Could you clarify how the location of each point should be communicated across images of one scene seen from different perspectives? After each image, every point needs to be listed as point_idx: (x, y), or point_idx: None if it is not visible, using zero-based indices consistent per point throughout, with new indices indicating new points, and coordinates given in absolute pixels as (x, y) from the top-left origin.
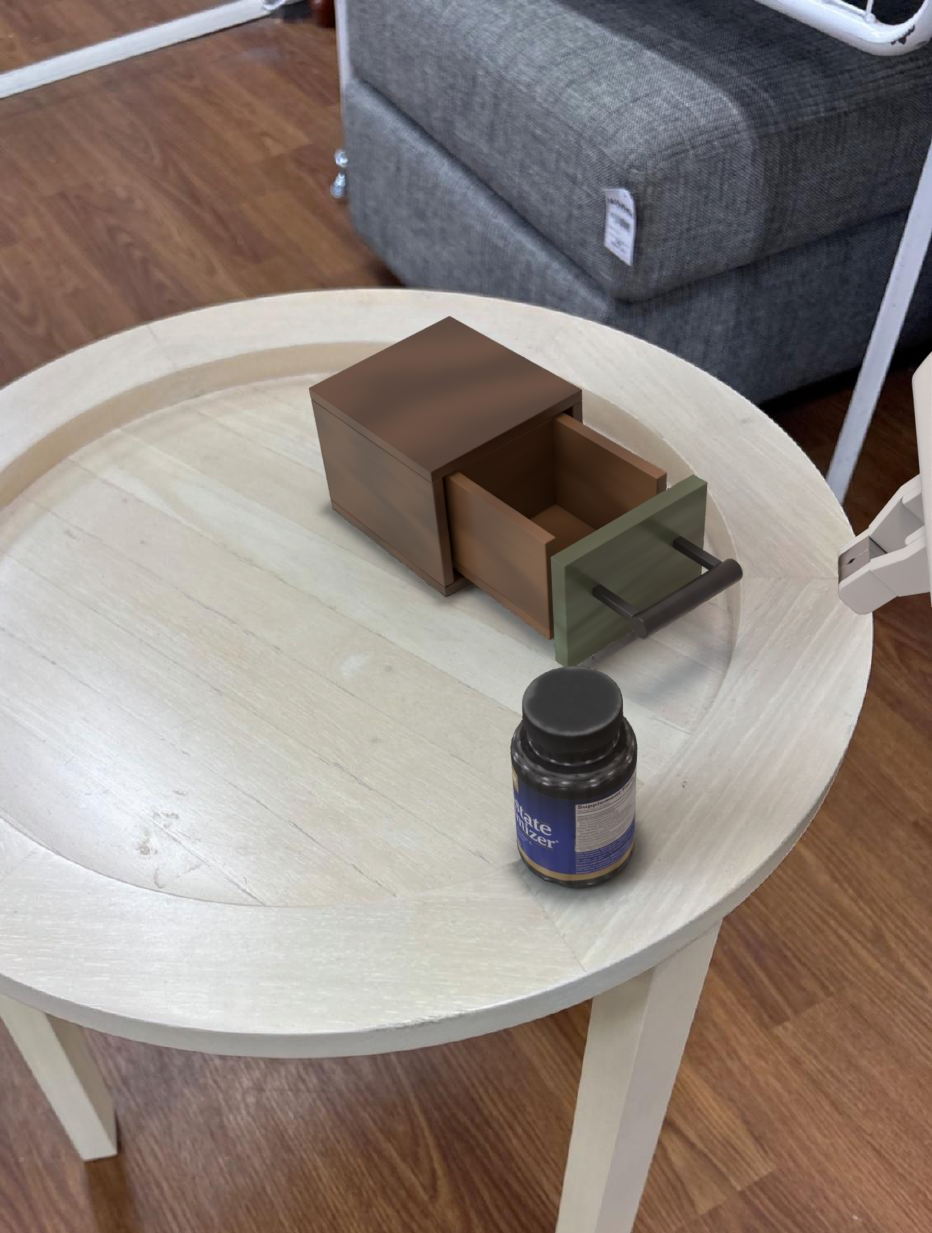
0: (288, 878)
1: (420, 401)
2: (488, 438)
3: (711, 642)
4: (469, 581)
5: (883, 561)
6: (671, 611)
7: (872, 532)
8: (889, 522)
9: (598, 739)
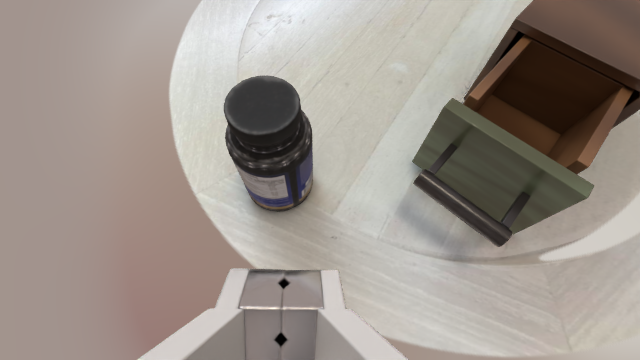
0: (254, 66)
1: (593, 4)
2: (568, 42)
3: (467, 247)
4: None
5: (194, 329)
6: (438, 194)
7: (324, 314)
8: (340, 347)
9: (230, 127)
